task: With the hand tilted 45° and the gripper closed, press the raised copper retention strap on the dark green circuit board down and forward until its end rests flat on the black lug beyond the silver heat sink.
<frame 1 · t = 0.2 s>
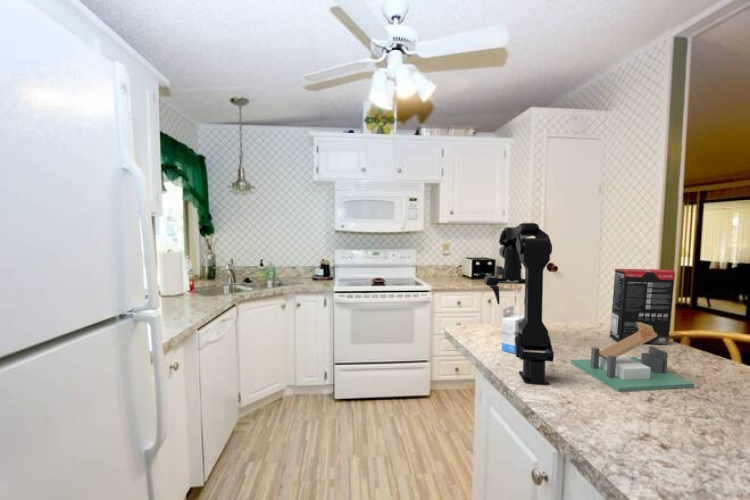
hand: (511, 304, 120), 15 cm above the countertop, tool pointing down, fingers open, 9 cm apart
socket board: (627, 374, 96), on the countertop
ink box: (513, 349, 116), on the countertop
graphics card box: (639, 342, 123), on the countertop
retention strap: (625, 340, 96), point 10 cm above the countertop, hinge at 25.0°
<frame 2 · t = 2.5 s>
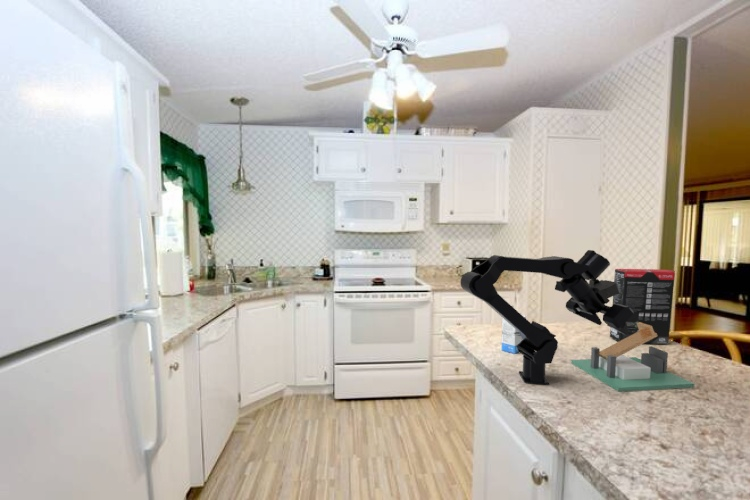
hand: (613, 328, 96), 13 cm above the countertop, tool tilted 45°, fingers open, 9 cm apart
nothing on the countertop moved.
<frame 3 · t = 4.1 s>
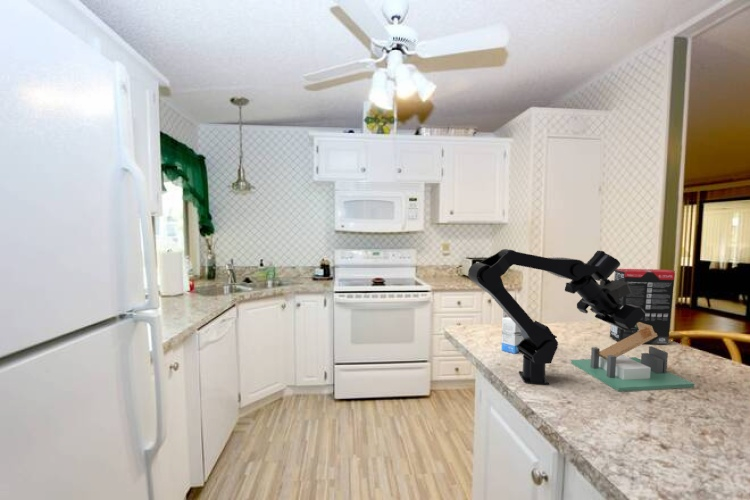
hand: (625, 328, 95), 14 cm above the countertop, tool tilted 45°, fingers closed
nothing on the countertop moved.
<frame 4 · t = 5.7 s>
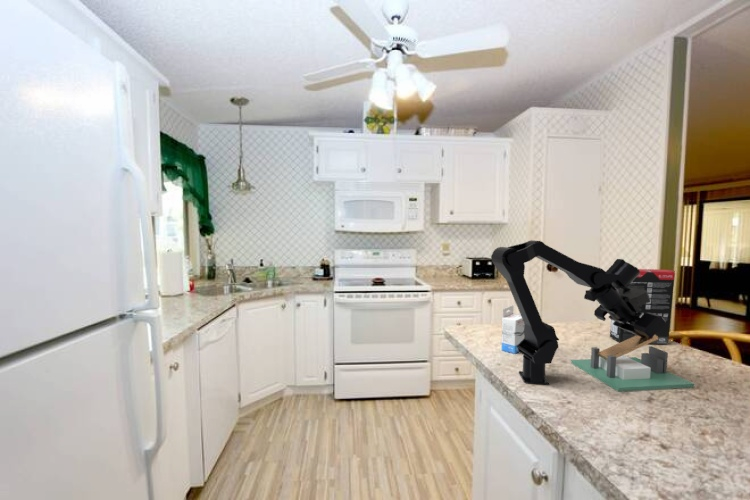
hand: (644, 336, 96), 11 cm above the countertop, tool tilted 45°, fingers closed, pressing on retention strap
retention strap: (626, 342, 96), point 10 cm above the countertop, hinge at 21.5°, touching gripper
everything else where it was.
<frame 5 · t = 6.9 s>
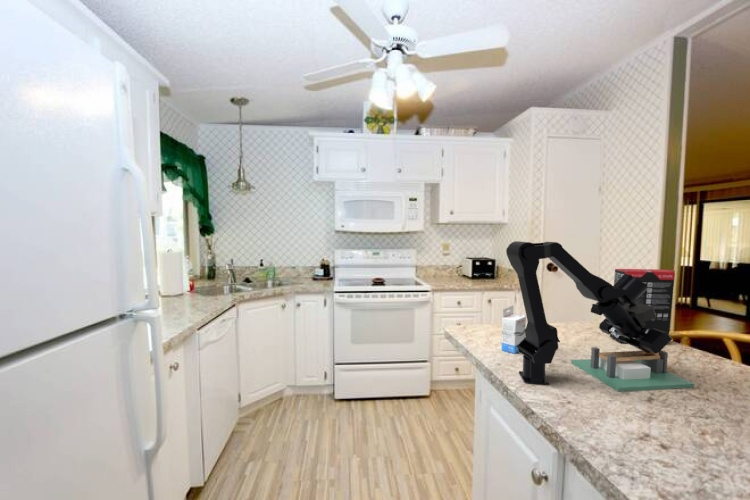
hand: (648, 351, 97), 6 cm above the countertop, tool tilted 45°, fingers closed, pressing on retention strap
retention strap: (628, 351, 96), point 7 cm above the countertop, hinge at 0.0°, touching gripper, socket board
everything else where it was.
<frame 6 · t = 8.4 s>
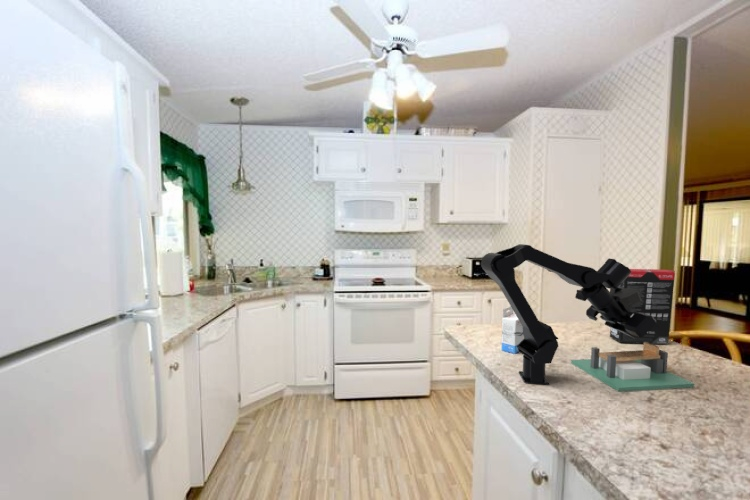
hand: (635, 336, 96), 11 cm above the countertop, tool tilted 45°, fingers closed
retention strap: (628, 351, 96), point 7 cm above the countertop, hinge at 0.4°
everything else where it was.
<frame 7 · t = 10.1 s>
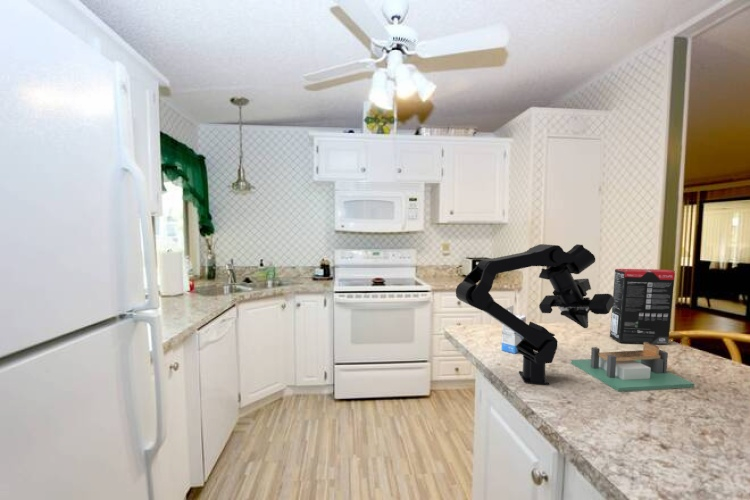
hand: (586, 327, 96), 14 cm above the countertop, tool tilted 30°, fingers closed
nothing on the countertop moved.
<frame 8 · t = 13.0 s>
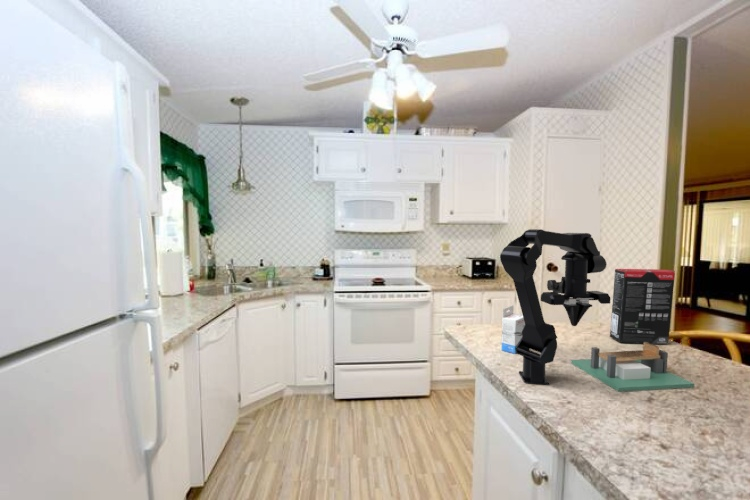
hand: (573, 325, 100), 13 cm above the countertop, tool pointing down, fingers closed
nothing on the countertop moved.
at the end: retention strap at +0° (first picture: +25°) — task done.
